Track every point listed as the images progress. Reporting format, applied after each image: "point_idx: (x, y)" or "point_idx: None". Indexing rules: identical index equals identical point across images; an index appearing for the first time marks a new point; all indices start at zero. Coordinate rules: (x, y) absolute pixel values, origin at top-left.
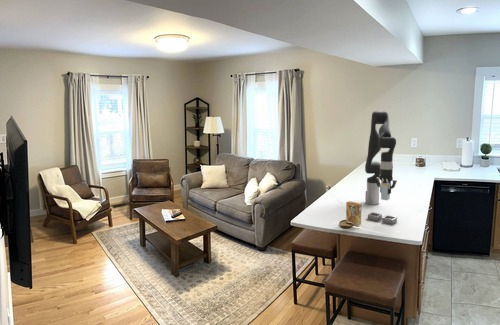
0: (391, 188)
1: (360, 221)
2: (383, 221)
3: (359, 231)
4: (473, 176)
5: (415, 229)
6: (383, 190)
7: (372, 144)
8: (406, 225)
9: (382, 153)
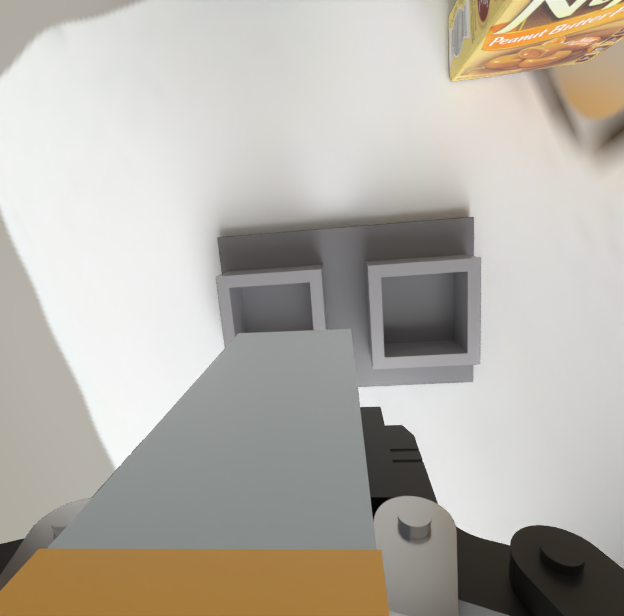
0: (8, 542)
1: (461, 38)
2: (310, 266)
3: None
4: None
5: (76, 309)
6: (284, 415)
7: None
8: (163, 349)
9: None
